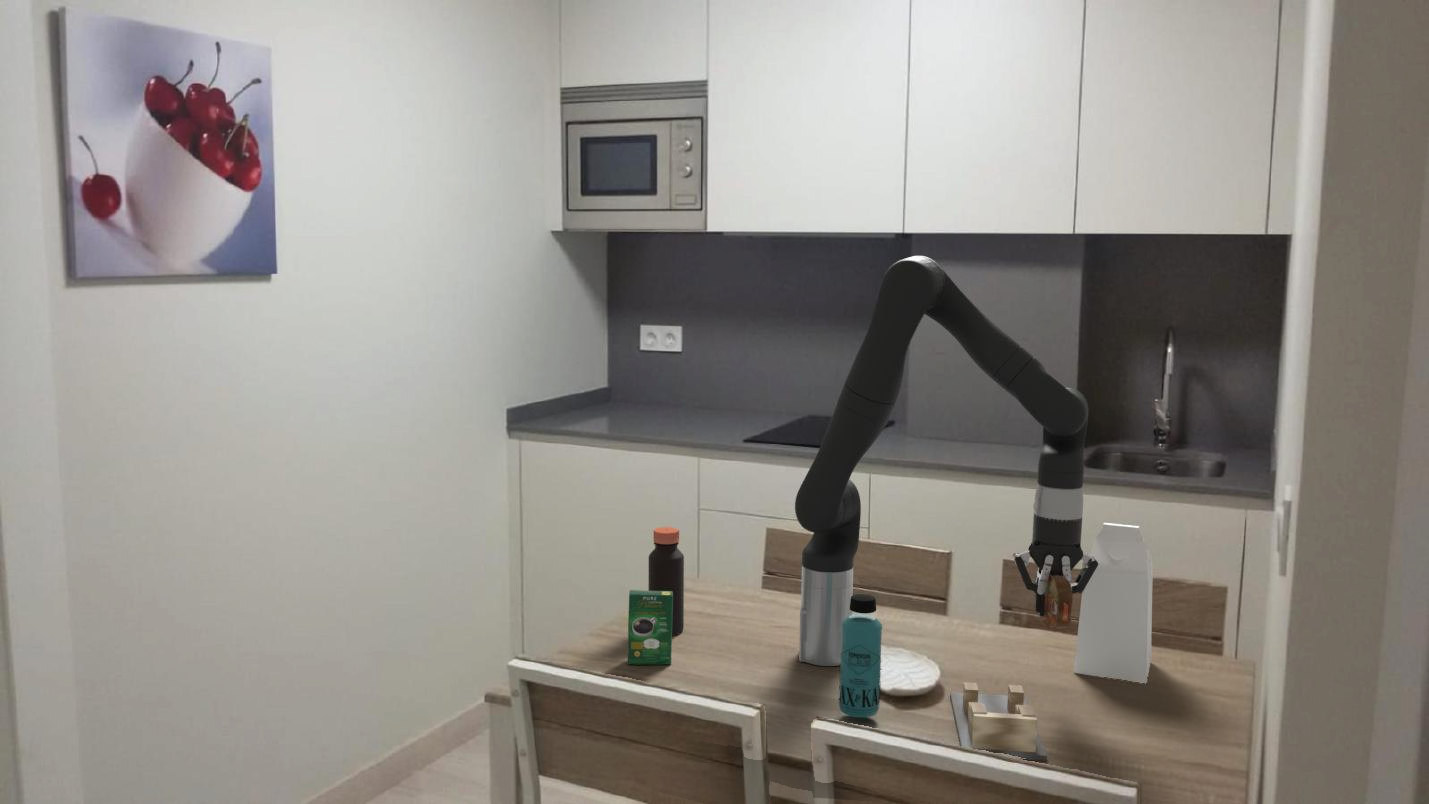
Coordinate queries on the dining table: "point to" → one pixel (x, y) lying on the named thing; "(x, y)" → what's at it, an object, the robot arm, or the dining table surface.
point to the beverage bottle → (860, 659)
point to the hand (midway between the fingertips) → (1051, 615)
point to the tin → (1057, 603)
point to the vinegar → (668, 571)
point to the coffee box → (650, 627)
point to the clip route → (997, 722)
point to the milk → (1117, 607)
